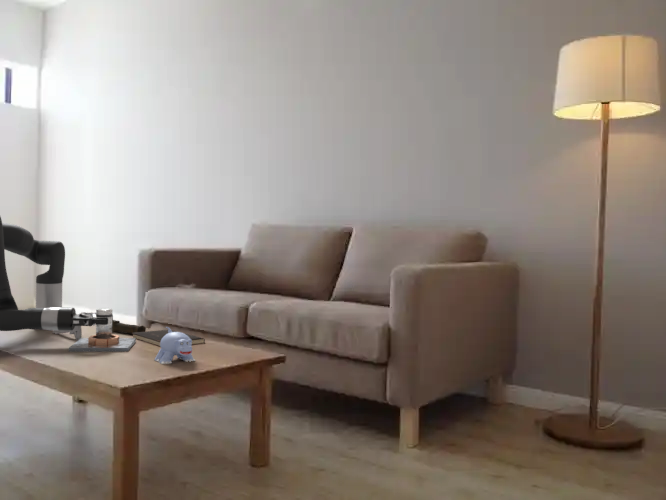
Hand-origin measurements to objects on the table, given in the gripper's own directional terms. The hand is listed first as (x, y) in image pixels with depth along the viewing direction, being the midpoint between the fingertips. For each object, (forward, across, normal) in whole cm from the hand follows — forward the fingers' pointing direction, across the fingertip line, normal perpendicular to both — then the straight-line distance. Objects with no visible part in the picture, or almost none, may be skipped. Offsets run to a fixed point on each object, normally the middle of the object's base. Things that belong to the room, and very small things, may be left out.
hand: (110, 319), depth 214 cm
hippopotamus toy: (+23, -24, +9) cm, 35 cm away
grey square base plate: (-2, 0, +9) cm, 9 cm away
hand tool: (0, +27, +10) cm, 28 cm away
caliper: (-18, +19, +10) cm, 28 cm away
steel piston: (-2, 0, +8) cm, 8 cm away
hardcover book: (+18, +12, +10) cm, 24 cm away
